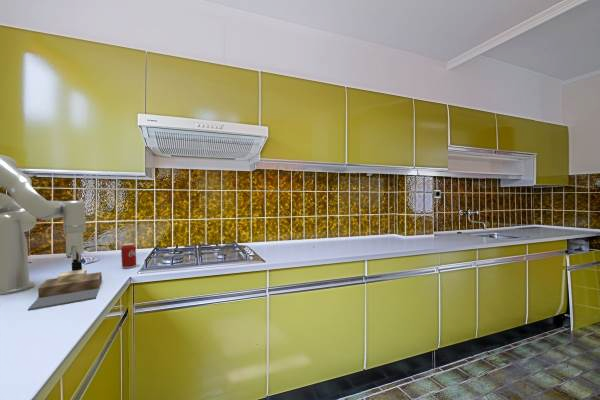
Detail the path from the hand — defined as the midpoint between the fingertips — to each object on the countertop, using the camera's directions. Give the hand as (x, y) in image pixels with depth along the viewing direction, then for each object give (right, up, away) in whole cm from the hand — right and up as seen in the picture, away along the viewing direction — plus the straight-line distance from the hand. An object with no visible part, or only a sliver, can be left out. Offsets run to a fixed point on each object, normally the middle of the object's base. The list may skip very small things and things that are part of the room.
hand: (77, 271), depth 121 cm
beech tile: (+5, -1, -8) cm, 10 cm away
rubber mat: (+12, -5, -20) cm, 24 cm away
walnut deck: (+6, -5, -9) cm, 12 cm away
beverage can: (+9, -4, +23) cm, 25 cm away
